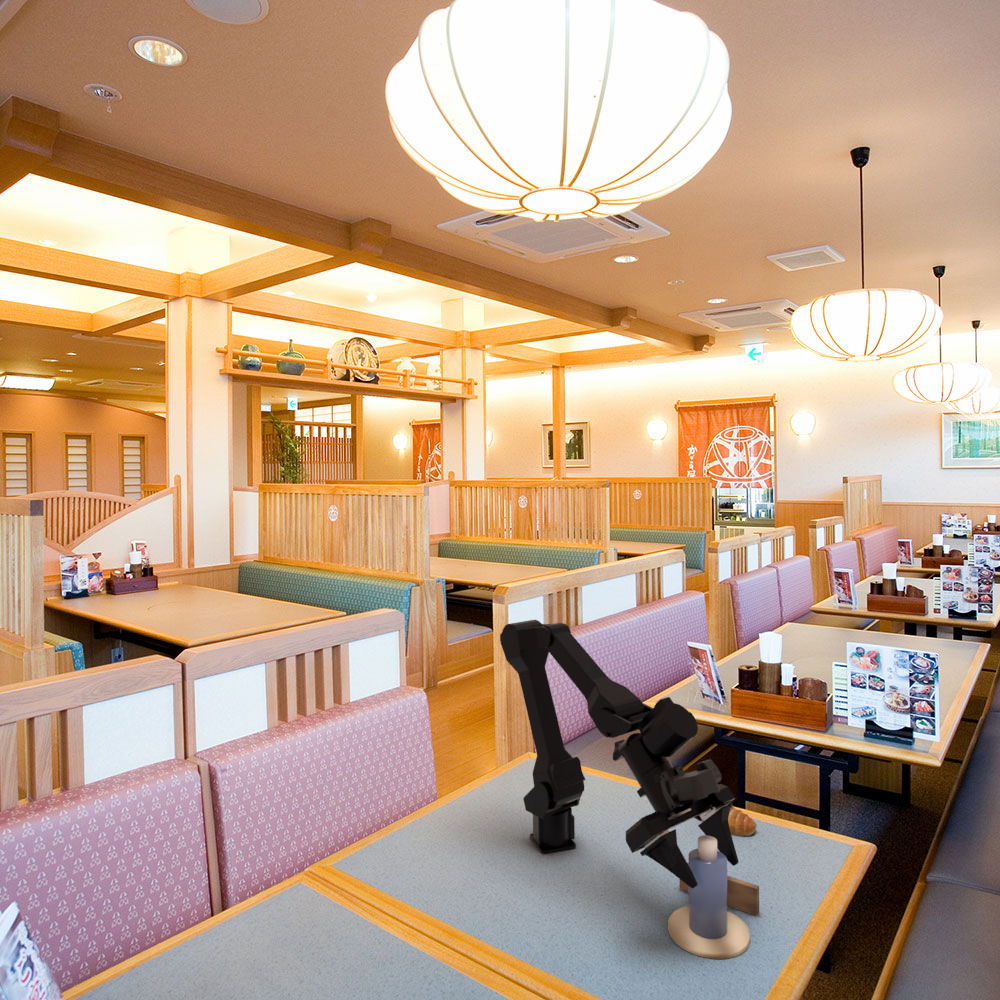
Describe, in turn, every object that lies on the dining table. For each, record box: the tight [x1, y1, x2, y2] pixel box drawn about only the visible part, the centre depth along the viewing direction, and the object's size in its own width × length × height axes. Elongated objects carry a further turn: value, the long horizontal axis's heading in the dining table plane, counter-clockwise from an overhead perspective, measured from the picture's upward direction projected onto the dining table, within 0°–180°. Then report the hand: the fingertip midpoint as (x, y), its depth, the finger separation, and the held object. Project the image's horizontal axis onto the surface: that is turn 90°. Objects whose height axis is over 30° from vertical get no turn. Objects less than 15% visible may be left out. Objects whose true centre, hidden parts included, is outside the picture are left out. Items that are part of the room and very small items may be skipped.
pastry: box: [700, 805, 757, 837], centre depth 134 cm, size 9×7×4 cm
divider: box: [678, 862, 760, 917], centre depth 111 cm, size 12×1×4 cm, turn 52°
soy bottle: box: [688, 834, 728, 939], centre depth 102 cm, size 5×5×12 cm
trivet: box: [667, 905, 751, 960], centre depth 103 cm, size 11×11×1 cm
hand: (716, 875), depth 101 cm, fingers open, 9 cm apart
